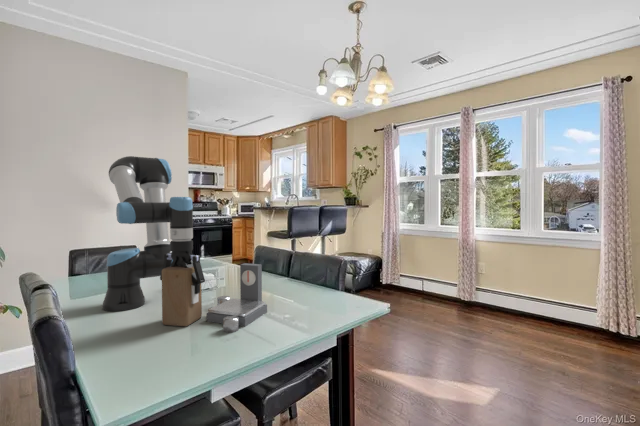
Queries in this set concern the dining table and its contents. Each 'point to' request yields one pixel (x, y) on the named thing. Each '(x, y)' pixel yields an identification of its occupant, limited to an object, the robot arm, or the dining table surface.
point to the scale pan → (237, 307)
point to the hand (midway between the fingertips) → (182, 301)
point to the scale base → (246, 294)
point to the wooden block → (179, 297)
